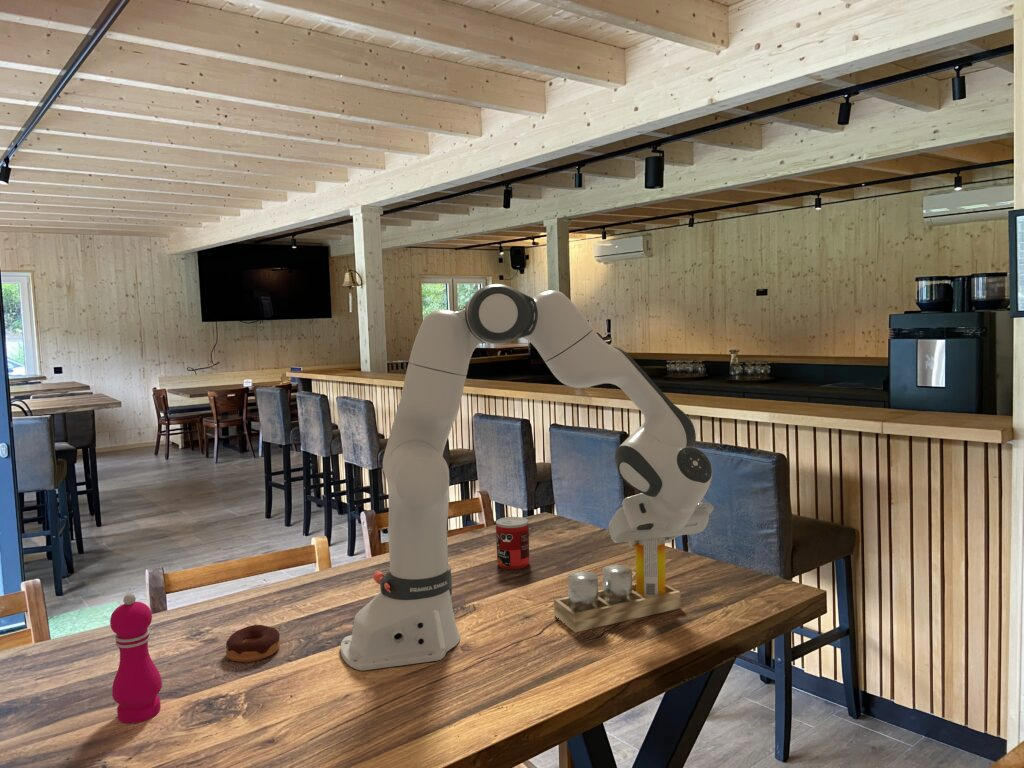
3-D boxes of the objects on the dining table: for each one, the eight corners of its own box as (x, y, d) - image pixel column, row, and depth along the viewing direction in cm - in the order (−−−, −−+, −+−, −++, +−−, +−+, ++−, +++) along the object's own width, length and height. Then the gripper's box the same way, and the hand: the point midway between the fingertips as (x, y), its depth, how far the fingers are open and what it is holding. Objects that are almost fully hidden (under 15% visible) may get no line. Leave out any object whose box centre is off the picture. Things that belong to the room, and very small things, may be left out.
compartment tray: (575, 632, 149) (574, 615, 149) (554, 616, 157) (554, 599, 157) (680, 608, 159) (680, 591, 159) (656, 594, 167) (655, 578, 167)
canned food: (493, 561, 191) (492, 518, 190) (524, 557, 194) (522, 515, 193) (502, 571, 184) (500, 526, 183) (533, 567, 187) (532, 523, 185)
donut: (250, 670, 138) (248, 649, 138) (214, 658, 143) (212, 638, 143) (292, 647, 147) (291, 627, 146) (257, 637, 152) (256, 618, 152)
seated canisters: (577, 618, 151) (577, 584, 150) (563, 607, 156) (562, 574, 155) (638, 605, 156) (637, 571, 156) (622, 595, 162) (621, 563, 161)
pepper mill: (171, 700, 128) (161, 584, 126) (152, 724, 121) (142, 601, 119) (127, 702, 128) (116, 586, 126) (105, 726, 120) (94, 604, 118)
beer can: (663, 589, 164) (662, 521, 162) (667, 600, 158) (666, 529, 156) (634, 590, 164) (633, 522, 163) (638, 601, 158) (636, 530, 157)
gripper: (711, 489, 155) (688, 523, 165) (615, 499, 150) (599, 533, 160) (722, 516, 151) (699, 549, 161) (625, 527, 146) (607, 561, 156)
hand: (648, 541), depth 161 cm, fingers closed on beer can, 6 cm apart
